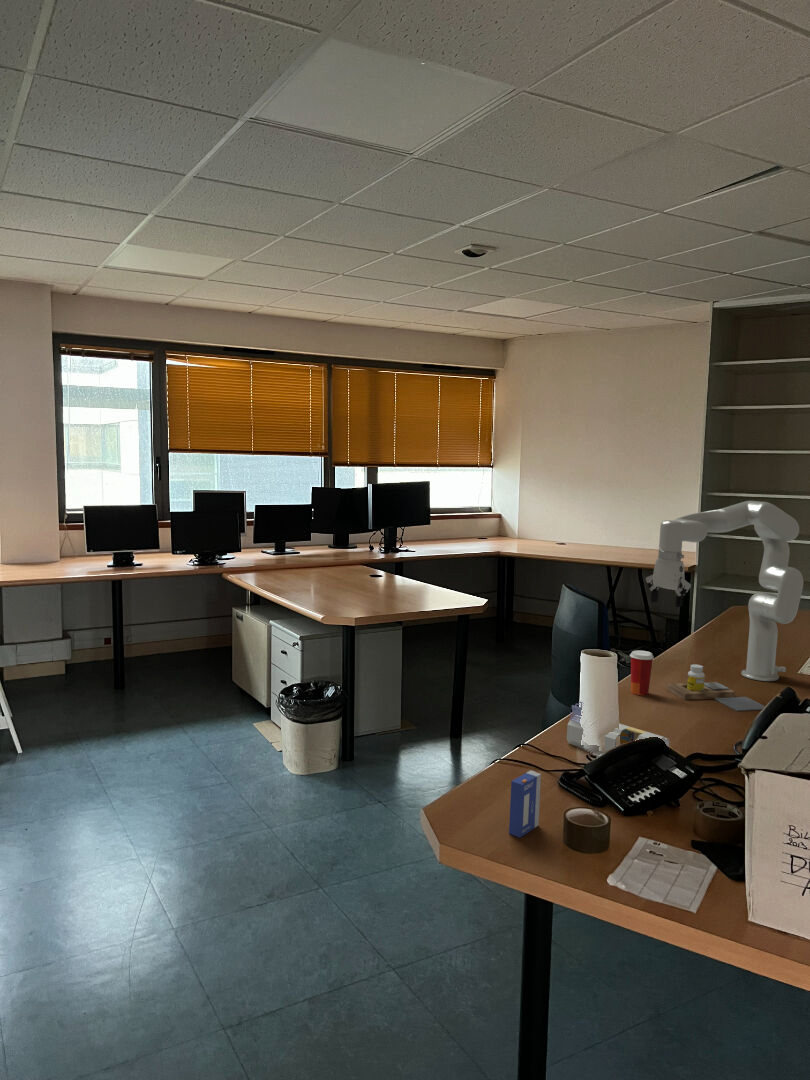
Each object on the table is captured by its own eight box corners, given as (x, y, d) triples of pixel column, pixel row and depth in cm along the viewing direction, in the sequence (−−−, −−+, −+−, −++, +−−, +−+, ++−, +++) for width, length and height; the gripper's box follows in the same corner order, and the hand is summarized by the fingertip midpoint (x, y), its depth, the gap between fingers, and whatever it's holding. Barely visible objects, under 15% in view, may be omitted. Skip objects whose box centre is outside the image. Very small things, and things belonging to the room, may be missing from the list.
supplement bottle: (683, 691, 269) (685, 663, 268) (699, 691, 270) (701, 663, 268) (690, 696, 264) (692, 668, 263) (706, 696, 264) (708, 668, 263)
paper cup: (651, 691, 268) (654, 651, 267) (650, 697, 261) (653, 656, 259) (628, 688, 271) (630, 649, 269) (626, 694, 263) (629, 654, 262)
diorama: (566, 745, 217) (568, 699, 216) (586, 736, 224) (588, 692, 223) (648, 773, 199) (651, 723, 198) (667, 762, 207) (671, 714, 205)
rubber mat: (745, 697, 264) (745, 696, 264) (769, 709, 252) (769, 708, 252) (714, 699, 261) (714, 698, 261) (736, 711, 249) (737, 709, 249)
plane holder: (715, 687, 274) (715, 680, 274) (734, 697, 264) (735, 689, 264) (666, 689, 270) (667, 682, 270) (684, 699, 260) (685, 692, 259)
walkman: (520, 838, 163) (522, 783, 162) (508, 833, 165) (511, 779, 163) (539, 825, 169) (542, 772, 168) (528, 821, 171) (530, 768, 169)
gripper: (698, 558, 267) (694, 607, 269) (654, 552, 280) (651, 599, 282) (685, 559, 262) (682, 609, 264) (642, 553, 276) (638, 601, 277)
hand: (666, 604), depth 273 cm, fingers open, 9 cm apart
